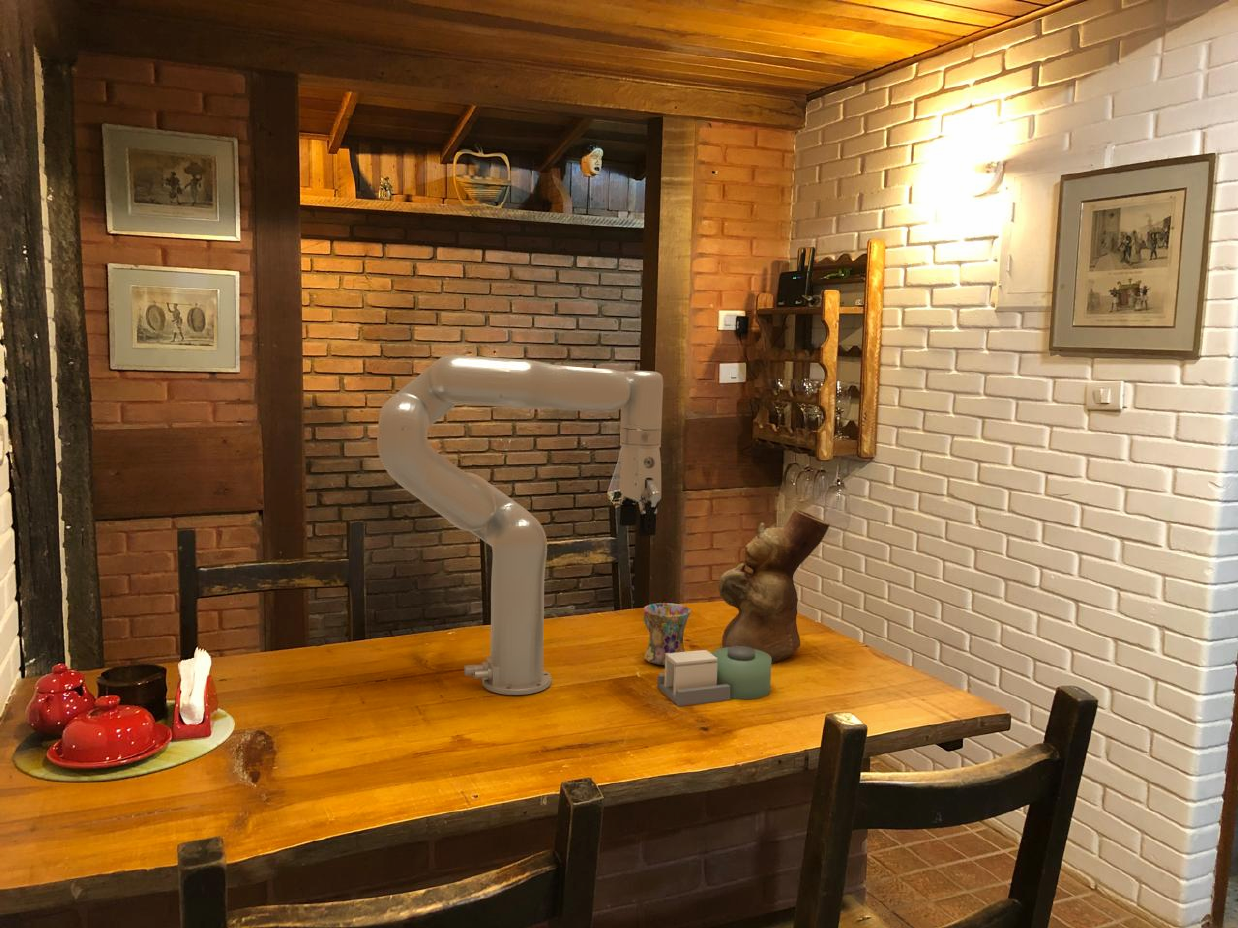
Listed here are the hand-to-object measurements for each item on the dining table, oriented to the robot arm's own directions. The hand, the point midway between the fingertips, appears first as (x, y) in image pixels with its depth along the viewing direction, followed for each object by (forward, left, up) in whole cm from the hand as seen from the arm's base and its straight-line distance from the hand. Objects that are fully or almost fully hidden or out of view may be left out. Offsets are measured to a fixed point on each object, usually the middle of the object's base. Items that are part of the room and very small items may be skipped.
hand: (636, 530), depth 170 cm
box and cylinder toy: (+12, -12, -28) cm, 33 cm away
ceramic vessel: (+32, +4, -28) cm, 43 cm away
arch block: (+7, -12, -27) cm, 30 cm away
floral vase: (+9, +7, -28) cm, 31 cm away
